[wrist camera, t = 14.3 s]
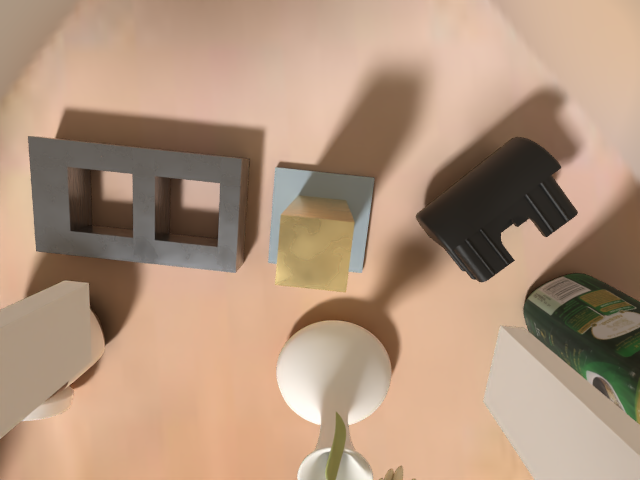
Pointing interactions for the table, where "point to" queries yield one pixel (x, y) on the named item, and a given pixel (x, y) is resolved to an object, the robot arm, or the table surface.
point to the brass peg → (315, 244)
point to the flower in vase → (335, 393)
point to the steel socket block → (134, 204)
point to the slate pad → (324, 186)
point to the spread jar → (65, 394)
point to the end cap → (497, 207)
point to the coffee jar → (591, 334)
